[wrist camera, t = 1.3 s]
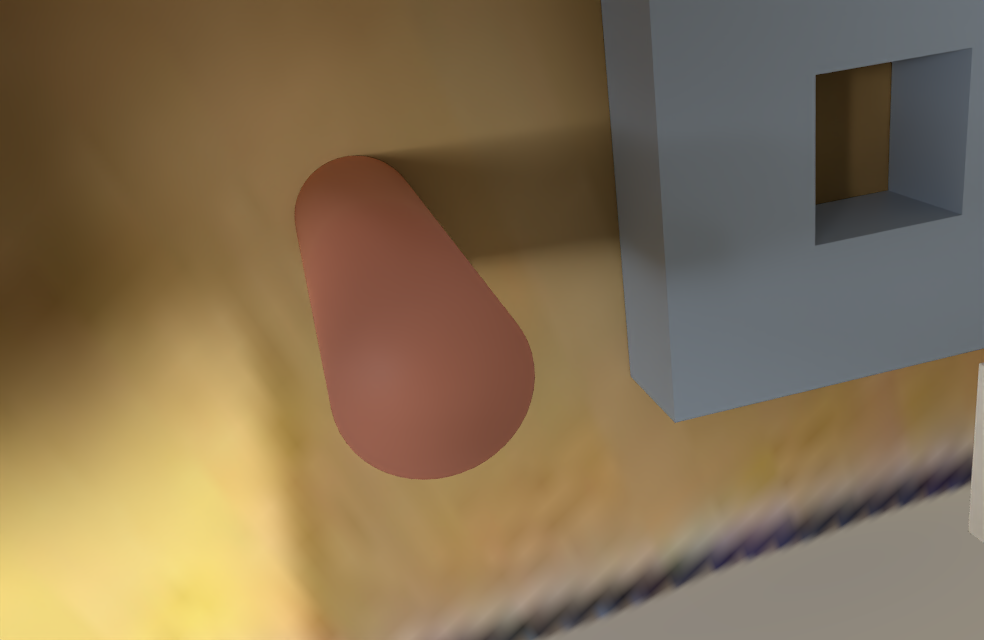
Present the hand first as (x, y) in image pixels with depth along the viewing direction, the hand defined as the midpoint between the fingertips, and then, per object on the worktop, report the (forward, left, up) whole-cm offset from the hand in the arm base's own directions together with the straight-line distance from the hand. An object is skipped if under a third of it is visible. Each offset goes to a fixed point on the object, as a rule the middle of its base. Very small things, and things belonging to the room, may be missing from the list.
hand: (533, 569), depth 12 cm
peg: (0, 0, -21) cm, 21 cm away
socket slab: (+17, 0, -21) cm, 27 cm away
